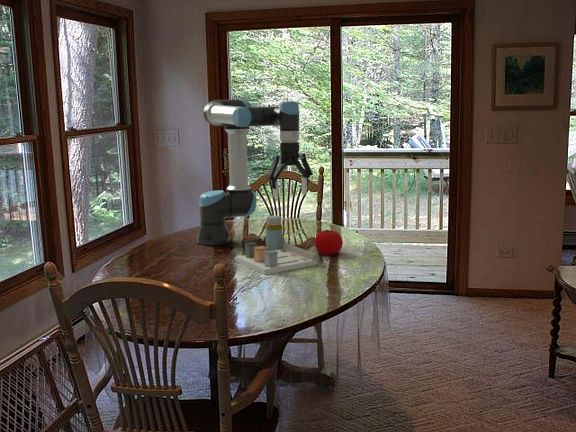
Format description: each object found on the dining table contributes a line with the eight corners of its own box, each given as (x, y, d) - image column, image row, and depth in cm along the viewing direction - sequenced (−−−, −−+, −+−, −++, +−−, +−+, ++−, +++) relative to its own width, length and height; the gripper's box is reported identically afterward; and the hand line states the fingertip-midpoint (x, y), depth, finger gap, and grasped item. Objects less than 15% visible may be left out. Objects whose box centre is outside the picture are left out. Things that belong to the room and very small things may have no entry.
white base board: (236, 261, 244) (235, 250, 243) (286, 252, 257) (286, 242, 256) (264, 274, 225) (264, 263, 224) (316, 265, 238) (316, 254, 237)
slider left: (244, 255, 244) (244, 243, 243) (252, 254, 246) (252, 241, 245) (249, 257, 241) (248, 245, 240) (257, 256, 243) (257, 243, 242)
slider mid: (254, 259, 237) (253, 247, 236) (262, 258, 239) (262, 245, 238) (258, 261, 234) (258, 249, 233) (267, 260, 236) (267, 247, 235)
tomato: (324, 249, 262) (324, 225, 260) (347, 252, 256) (347, 229, 254) (309, 255, 253) (309, 230, 251) (332, 259, 246) (333, 234, 244)
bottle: (280, 252, 257) (280, 218, 254) (264, 252, 258) (264, 218, 255) (283, 248, 264) (283, 215, 261) (268, 248, 265) (267, 215, 262)
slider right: (264, 264, 231) (264, 251, 230) (272, 262, 233) (272, 249, 232) (269, 266, 228) (269, 253, 226) (277, 265, 229) (277, 251, 228)
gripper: (267, 143, 224) (268, 199, 228) (321, 140, 238) (321, 193, 242) (257, 142, 230) (258, 197, 234) (310, 139, 244) (310, 191, 248)
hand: (290, 195), depth 238 cm, fingers open, 13 cm apart
